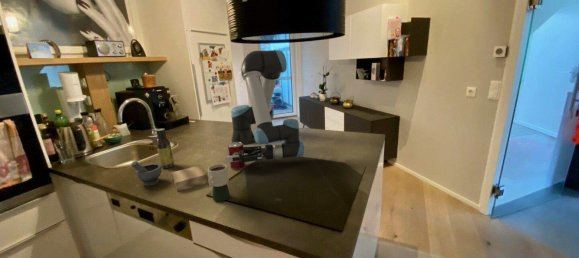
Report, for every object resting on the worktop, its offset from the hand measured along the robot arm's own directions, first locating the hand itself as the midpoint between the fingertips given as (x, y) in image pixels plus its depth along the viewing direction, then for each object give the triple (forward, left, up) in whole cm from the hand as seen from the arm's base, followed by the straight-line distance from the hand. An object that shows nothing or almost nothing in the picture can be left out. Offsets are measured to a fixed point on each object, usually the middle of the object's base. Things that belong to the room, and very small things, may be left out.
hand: (226, 155), depth 116 cm
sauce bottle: (+25, -22, -7) cm, 34 cm away
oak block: (+19, +3, -6) cm, 20 cm away
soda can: (-4, +2, -7) cm, 8 cm away
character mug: (+11, +25, -7) cm, 29 cm away
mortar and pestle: (+34, -7, -7) cm, 35 cm away
